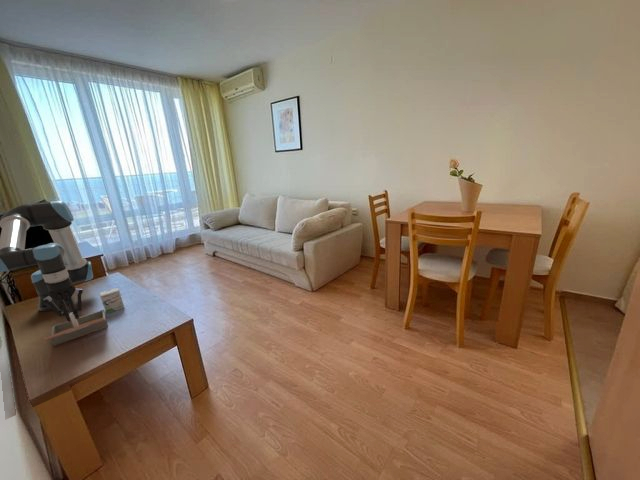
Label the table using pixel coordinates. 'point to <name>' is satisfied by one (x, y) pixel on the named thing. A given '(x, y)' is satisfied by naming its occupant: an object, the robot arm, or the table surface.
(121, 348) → the table surface
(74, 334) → the box
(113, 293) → the ink box
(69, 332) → the lid
